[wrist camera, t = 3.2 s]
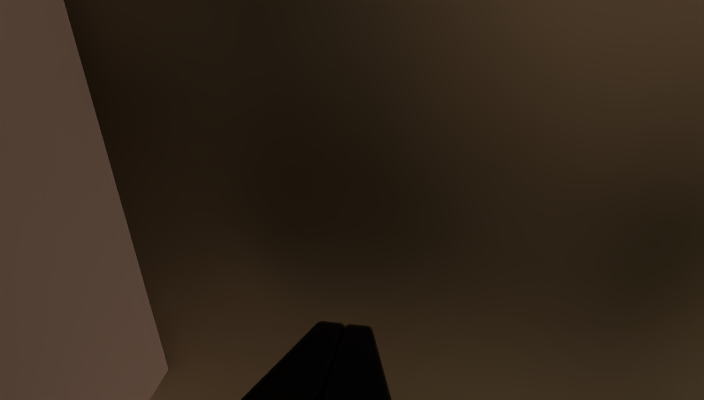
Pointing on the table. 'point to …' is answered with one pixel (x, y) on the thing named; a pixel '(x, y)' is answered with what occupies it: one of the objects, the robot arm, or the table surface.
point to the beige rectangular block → (63, 230)
